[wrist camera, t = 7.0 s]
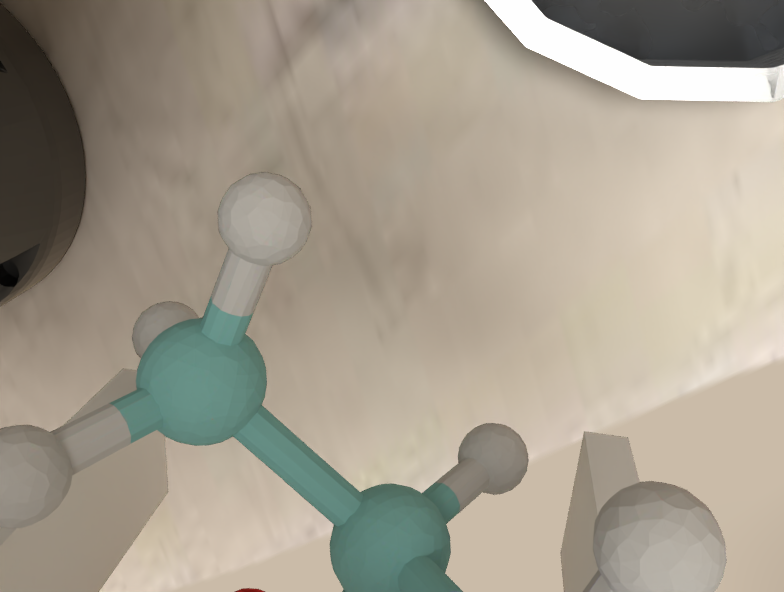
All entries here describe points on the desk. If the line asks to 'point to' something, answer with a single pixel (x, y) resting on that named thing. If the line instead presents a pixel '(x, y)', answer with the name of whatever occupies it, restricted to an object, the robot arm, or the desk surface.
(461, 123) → the desk surface
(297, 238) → the molecular model
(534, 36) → the shallow grey dish
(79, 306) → the desk surface
